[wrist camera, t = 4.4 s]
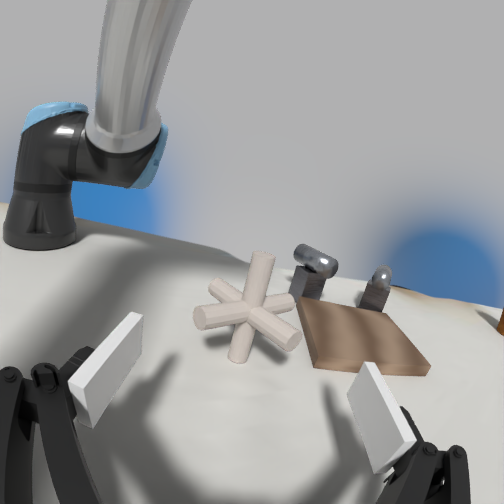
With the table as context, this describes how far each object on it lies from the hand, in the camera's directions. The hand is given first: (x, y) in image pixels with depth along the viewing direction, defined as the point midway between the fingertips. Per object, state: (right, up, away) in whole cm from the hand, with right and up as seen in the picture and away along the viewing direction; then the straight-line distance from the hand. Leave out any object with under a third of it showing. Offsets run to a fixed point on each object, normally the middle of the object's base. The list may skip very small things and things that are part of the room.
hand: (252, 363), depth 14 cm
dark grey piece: (+20, -4, +28) cm, 34 cm away
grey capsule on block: (+8, -1, +28) cm, 29 cm away
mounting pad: (+13, -5, +18) cm, 23 cm away
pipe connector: (-1, -4, +10) cm, 10 cm away
